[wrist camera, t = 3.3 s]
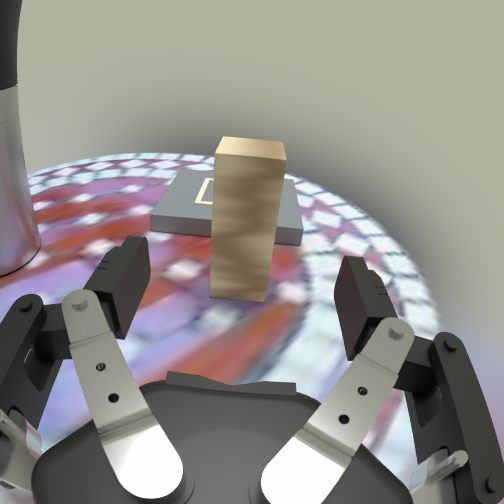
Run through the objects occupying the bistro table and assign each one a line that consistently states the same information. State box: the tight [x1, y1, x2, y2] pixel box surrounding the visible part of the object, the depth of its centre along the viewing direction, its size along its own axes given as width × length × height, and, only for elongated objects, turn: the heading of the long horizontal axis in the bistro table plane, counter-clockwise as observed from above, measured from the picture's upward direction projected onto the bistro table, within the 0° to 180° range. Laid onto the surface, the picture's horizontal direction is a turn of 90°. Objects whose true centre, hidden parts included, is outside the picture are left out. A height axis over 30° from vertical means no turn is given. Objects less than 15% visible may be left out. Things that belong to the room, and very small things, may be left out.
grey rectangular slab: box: [150, 169, 303, 245], centre depth 39 cm, size 16×14×2 cm
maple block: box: [210, 137, 286, 302], centre depth 25 cm, size 4×4×12 cm
